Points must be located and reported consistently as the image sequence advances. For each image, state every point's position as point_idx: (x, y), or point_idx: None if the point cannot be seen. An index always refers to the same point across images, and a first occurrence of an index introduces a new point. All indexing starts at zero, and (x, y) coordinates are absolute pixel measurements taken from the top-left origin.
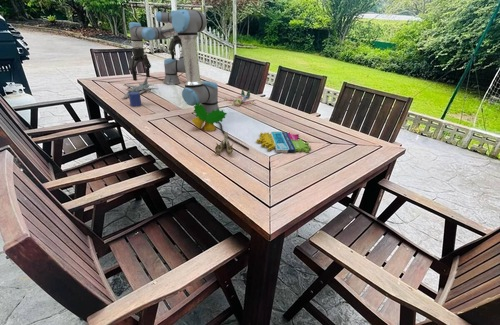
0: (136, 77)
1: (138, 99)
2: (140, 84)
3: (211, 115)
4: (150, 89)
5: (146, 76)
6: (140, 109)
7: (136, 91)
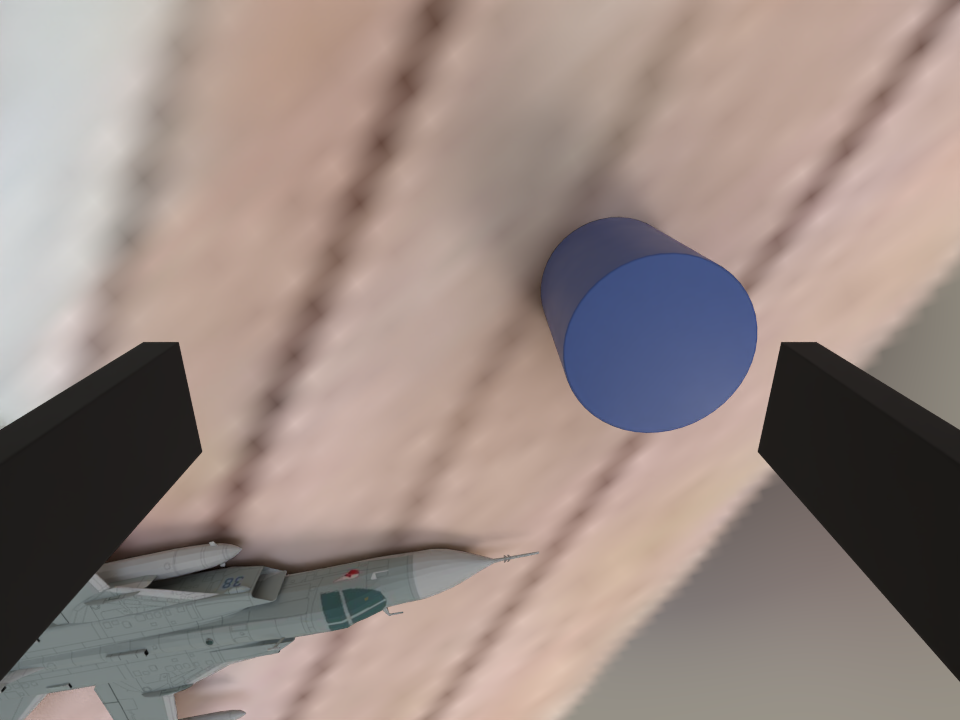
0: (858, 384)
1: (657, 235)
2: (8, 716)
3: None
4: None
5: (191, 453)
6: (762, 92)
7: (242, 586)
